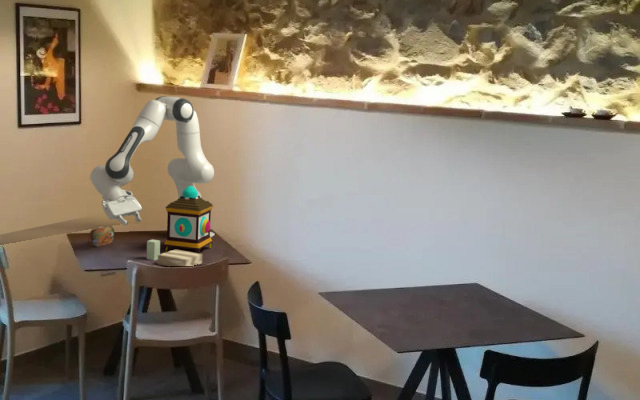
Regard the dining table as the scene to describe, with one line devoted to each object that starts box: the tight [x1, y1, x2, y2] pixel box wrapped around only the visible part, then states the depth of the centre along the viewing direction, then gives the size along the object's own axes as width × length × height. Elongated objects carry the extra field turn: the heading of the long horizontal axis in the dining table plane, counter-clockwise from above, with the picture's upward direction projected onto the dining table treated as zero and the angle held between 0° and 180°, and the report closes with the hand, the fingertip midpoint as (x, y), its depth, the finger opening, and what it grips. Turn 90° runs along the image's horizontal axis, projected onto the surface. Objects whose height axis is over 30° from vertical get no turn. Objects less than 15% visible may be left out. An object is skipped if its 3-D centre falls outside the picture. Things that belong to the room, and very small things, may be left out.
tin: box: [88, 225, 116, 248], centre depth 356 cm, size 15×3×8 cm, turn 154°
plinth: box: [157, 249, 204, 267], centre depth 332 cm, size 13×14×4 cm
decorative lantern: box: [163, 186, 214, 254], centre depth 355 cm, size 20×20×30 cm
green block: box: [146, 239, 161, 261], centre depth 337 cm, size 4×4×8 cm
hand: (133, 223), depth 340 cm, fingers open, 8 cm apart
